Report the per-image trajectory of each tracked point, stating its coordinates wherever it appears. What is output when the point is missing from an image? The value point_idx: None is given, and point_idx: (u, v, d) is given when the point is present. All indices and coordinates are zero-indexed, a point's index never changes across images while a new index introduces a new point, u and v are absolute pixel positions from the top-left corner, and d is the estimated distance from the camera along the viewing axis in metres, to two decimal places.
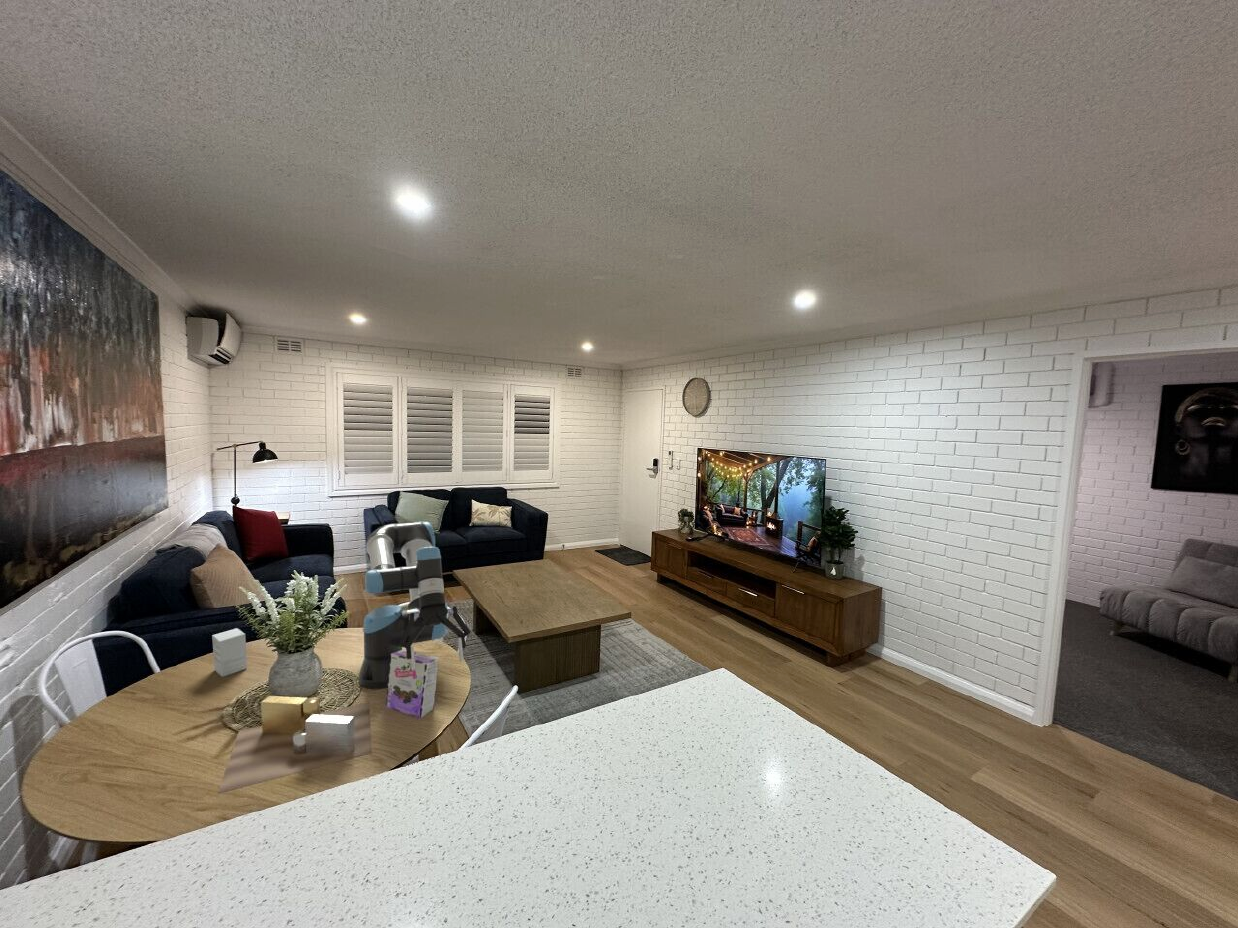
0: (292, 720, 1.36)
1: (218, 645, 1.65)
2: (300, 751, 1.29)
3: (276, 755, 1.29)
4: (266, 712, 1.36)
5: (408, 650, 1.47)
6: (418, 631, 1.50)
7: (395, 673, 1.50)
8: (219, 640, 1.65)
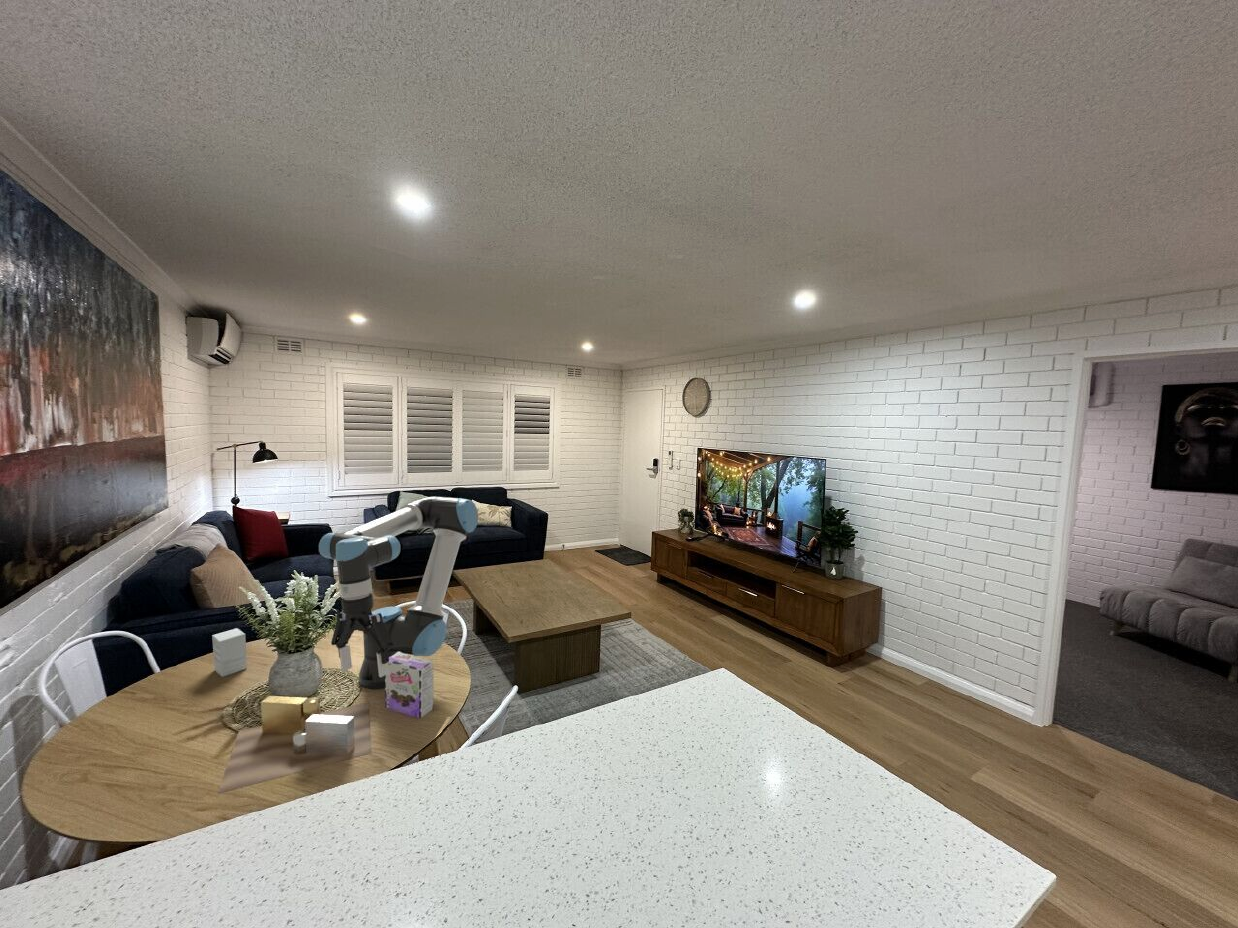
0: (292, 720, 1.36)
1: (218, 645, 1.65)
2: (300, 751, 1.29)
3: (276, 755, 1.29)
4: (266, 712, 1.36)
5: None
6: (344, 635, 1.36)
7: (391, 678, 1.49)
8: (219, 640, 1.65)
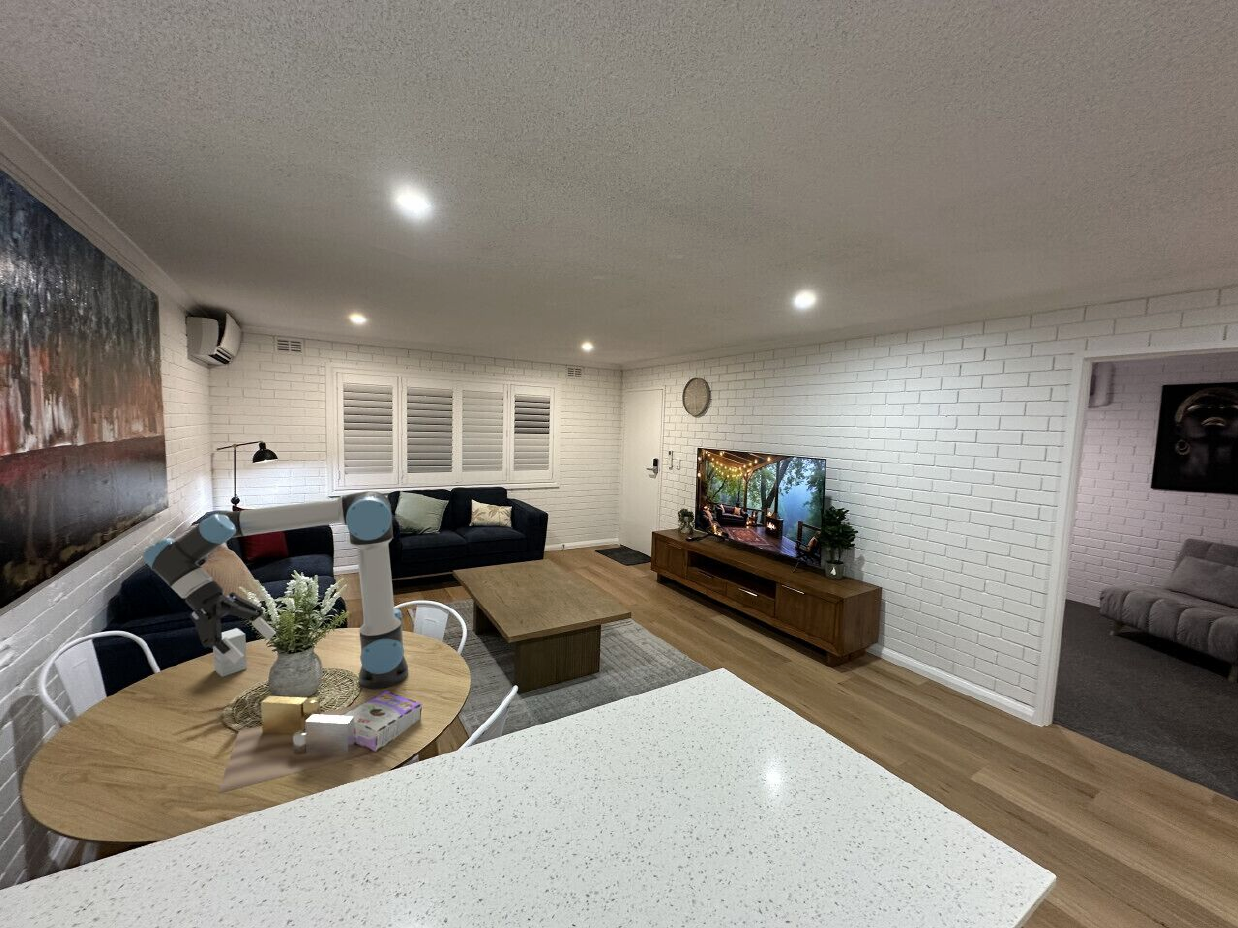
0: (292, 720, 1.36)
1: None
2: (300, 751, 1.29)
3: (276, 755, 1.29)
4: (266, 712, 1.36)
5: None
6: None
7: None
8: None
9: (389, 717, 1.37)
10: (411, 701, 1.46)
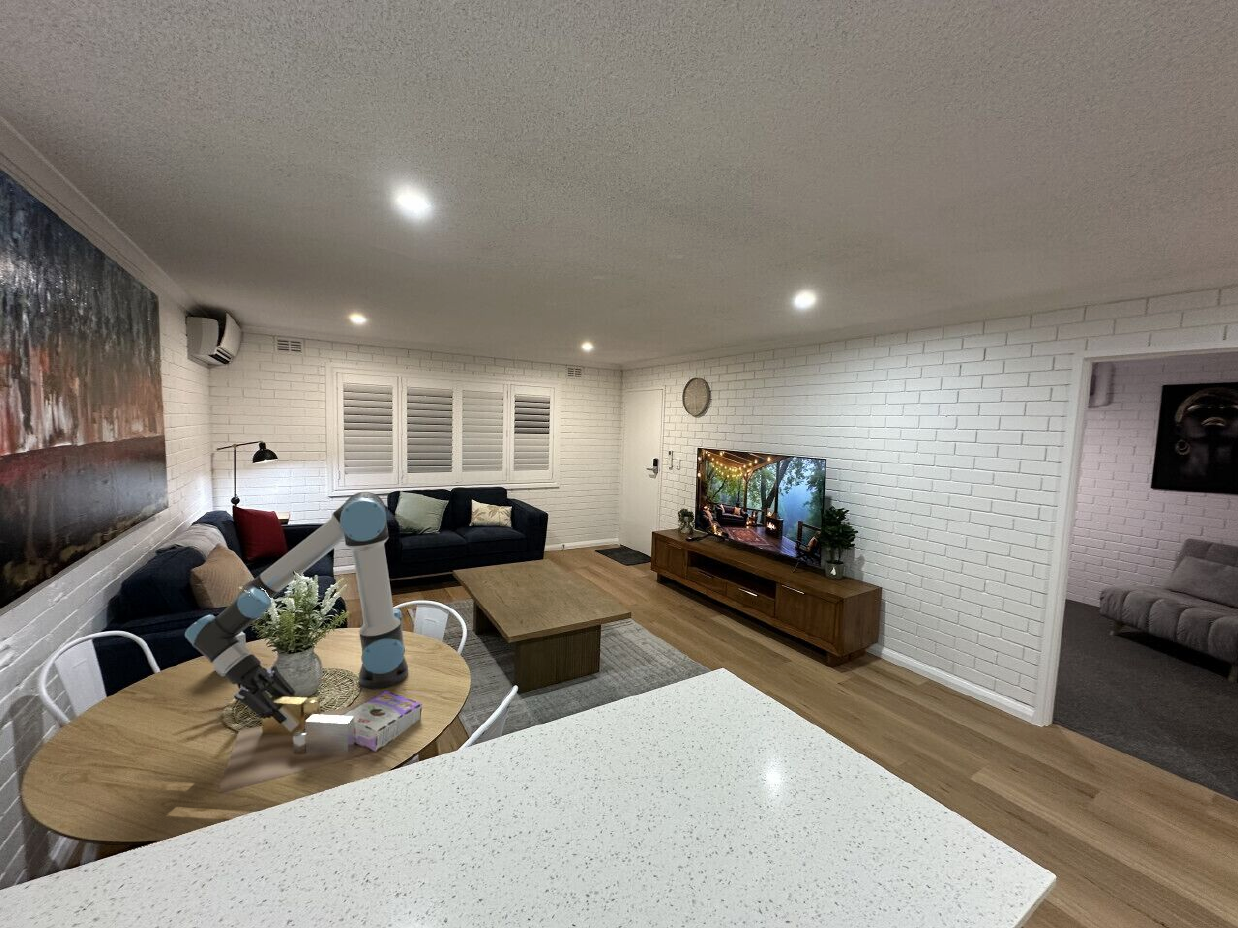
0: None
1: None
2: (300, 751, 1.29)
3: (276, 755, 1.29)
4: None
5: None
6: None
7: None
8: None
9: (389, 717, 1.37)
10: (411, 701, 1.46)
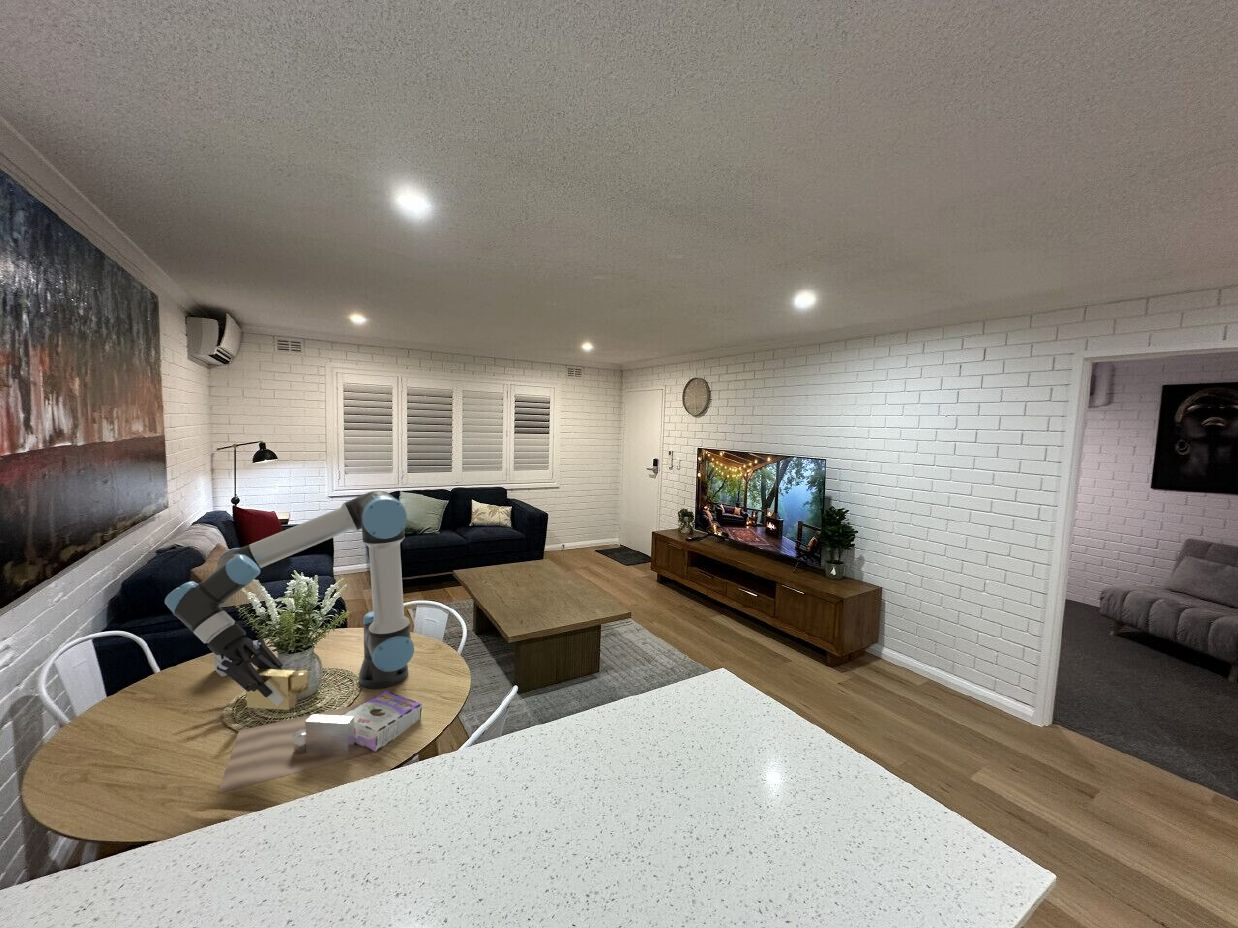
0: None
1: None
2: (300, 751, 1.29)
3: (276, 755, 1.29)
4: None
5: None
6: None
7: None
8: None
9: (389, 717, 1.37)
10: (411, 701, 1.46)
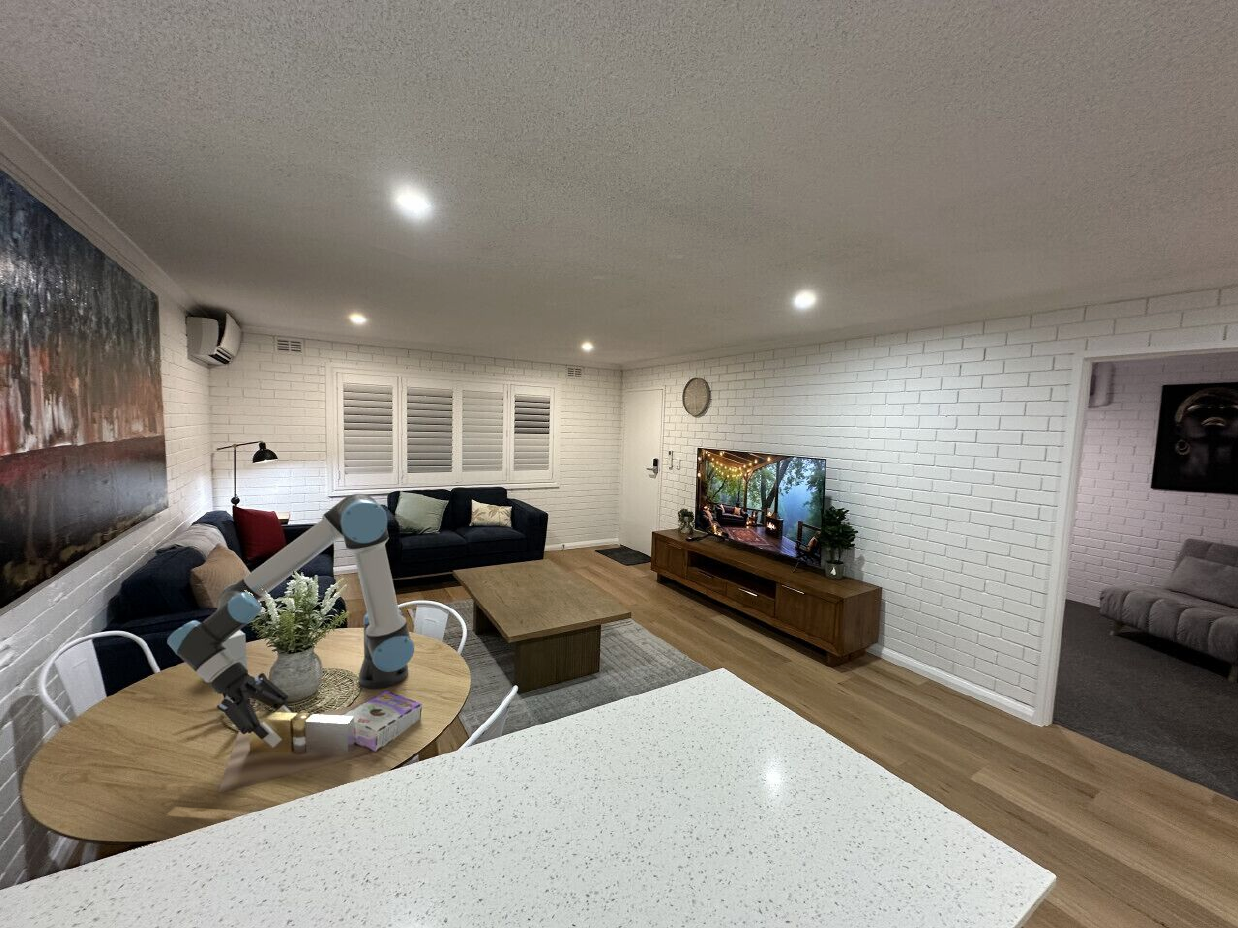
0: (281, 738, 1.29)
1: None
2: (300, 751, 1.29)
3: (276, 755, 1.29)
4: None
5: None
6: None
7: None
8: None
9: (389, 717, 1.37)
10: (411, 701, 1.46)
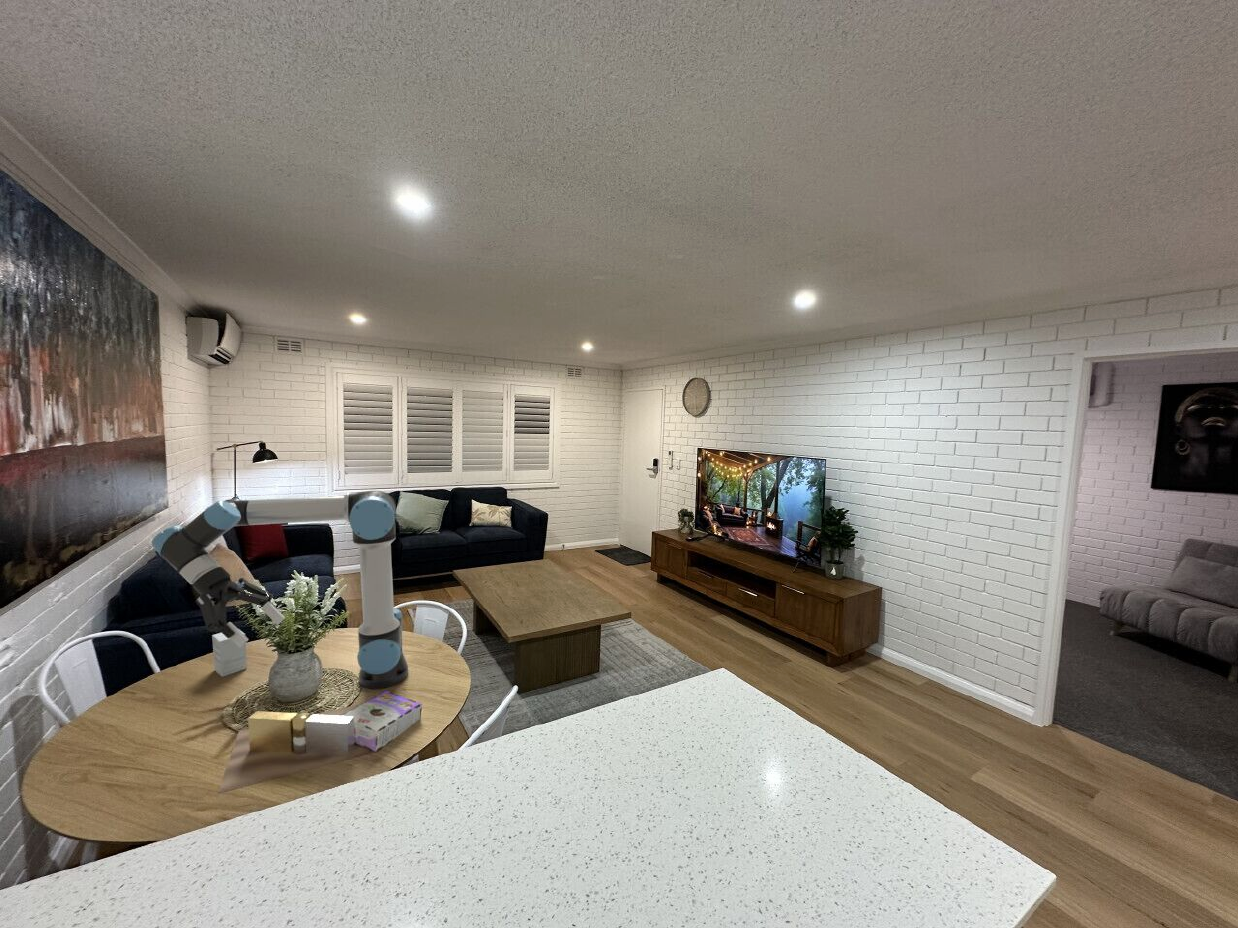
0: (281, 738, 1.29)
1: (218, 645, 1.65)
2: (300, 751, 1.29)
3: (276, 755, 1.29)
4: (253, 729, 1.29)
5: None
6: None
7: None
8: (219, 640, 1.65)
9: (389, 717, 1.37)
10: (411, 701, 1.46)
